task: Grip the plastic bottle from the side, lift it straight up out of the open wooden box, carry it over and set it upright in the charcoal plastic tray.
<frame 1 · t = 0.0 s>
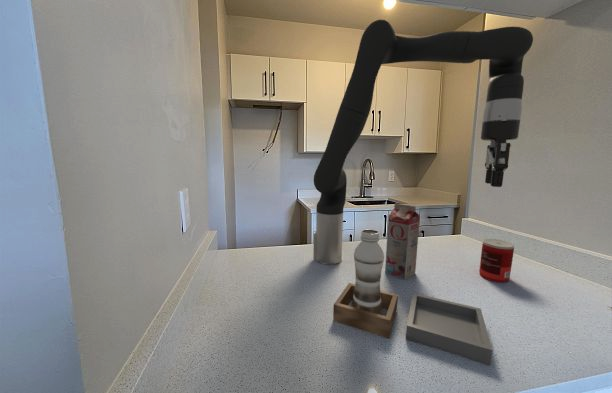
hand: (492, 185, 66), 29 cm above the worktop, tool pointing down, fingers open, 8 cm apart
juice carton: (400, 273, 81), on the worktop
plastic bottle: (366, 316, 59), resting in open wooden box
tray: (444, 329, 54), on the worktop
open wooden box: (366, 315, 59), on the worktop
canned food: (493, 277, 79), on the worktop
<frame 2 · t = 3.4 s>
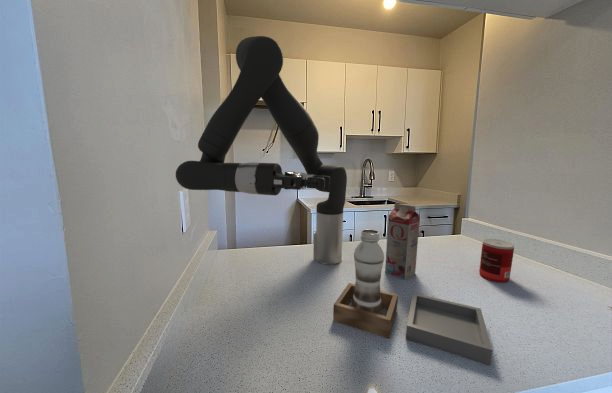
hand: (327, 182, 57), 30 cm above the worktop, tool horizontal, fingers open, 8 cm apart
nothing on the worktop moved.
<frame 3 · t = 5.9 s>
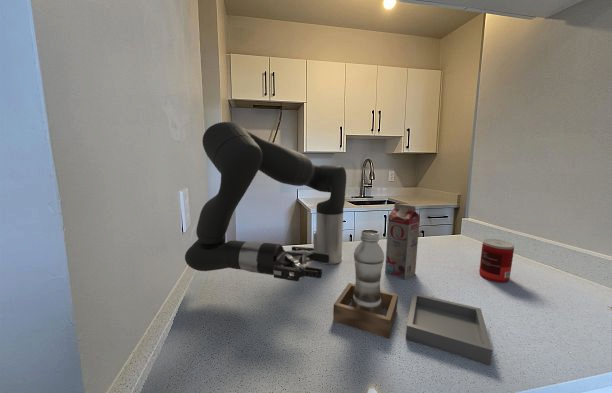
hand: (325, 265, 59), 11 cm above the worktop, tool horizontal, fingers open, 8 cm apart
nothing on the worktop moved.
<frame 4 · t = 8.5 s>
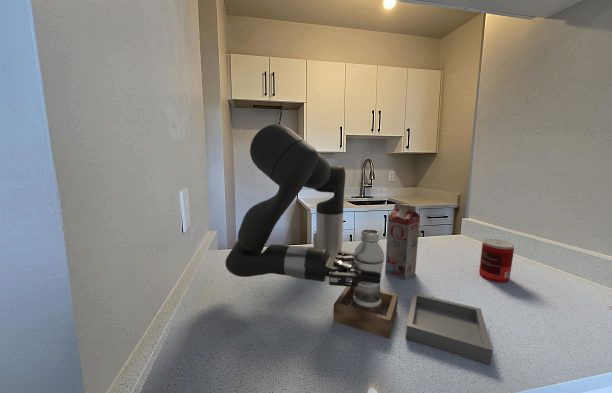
hand: (379, 271, 57), 11 cm above the worktop, tool horizontal, fingers closed on plastic bottle, 6 cm apart
plastic bottle: (366, 316, 59), resting in open wooden box, touching gripper
everything else where it was.
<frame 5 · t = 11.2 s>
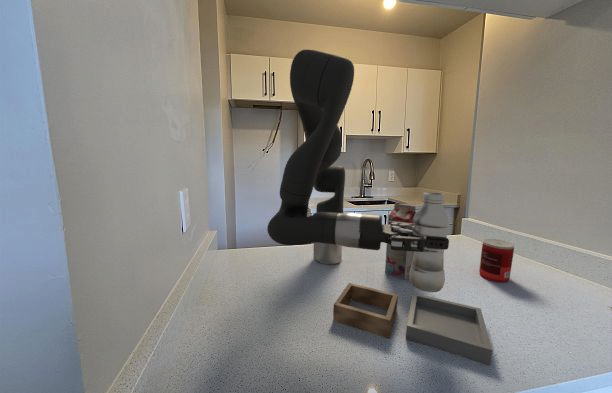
hand: (443, 238, 51), 20 cm above the worktop, tool horizontal, fingers closed on plastic bottle, 6 cm apart
plastic bottle: (425, 289, 53), point 9 cm above the worktop, touching gripper
everything else where it was.
when the fingers open (13 cm above the worktop, at t = 14.0 s): plastic bottle drops 1 cm, resting on tray.
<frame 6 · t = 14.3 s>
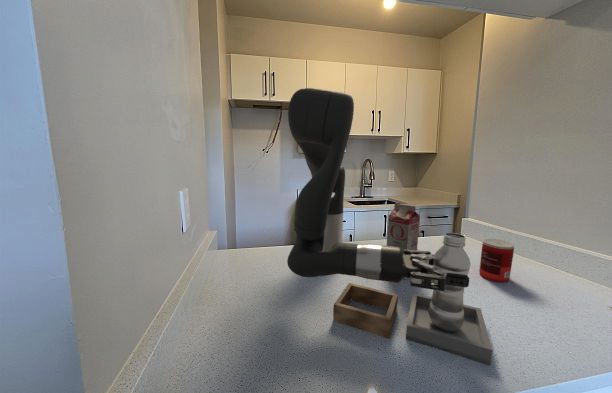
hand: (461, 271, 52), 13 cm above the worktop, tool horizontal, fingers open, 8 cm apart
plastic bottle: (444, 326, 54), point 1 cm above the worktop, touching tray
everything else where it was.
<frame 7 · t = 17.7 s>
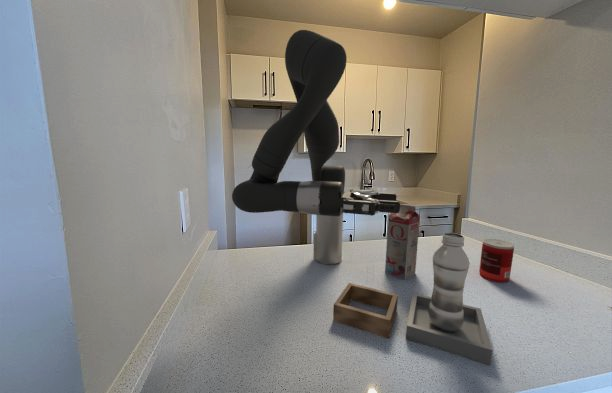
hand: (397, 202, 52), 27 cm above the worktop, tool horizontal, fingers open, 8 cm apart
nothing on the worktop moved.
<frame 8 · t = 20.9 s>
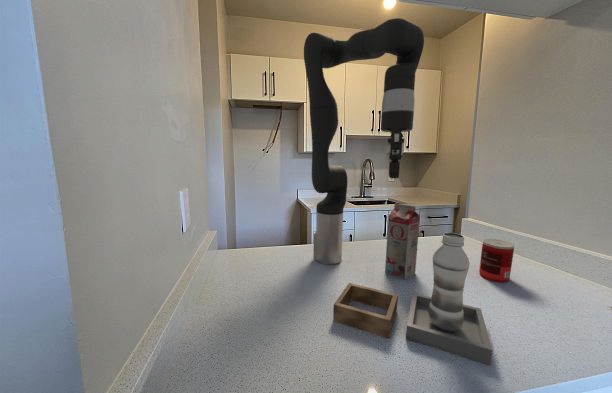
hand: (393, 177, 65), 31 cm above the worktop, tool pointing down, fingers open, 8 cm apart
nothing on the worktop moved.
at the end: plastic bottle inside the target area on the tray (0.1 cm from its centre), point 0.6 cm above the tray's base; plastic bottle tilted 0°; the gripper is holding nothing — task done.
